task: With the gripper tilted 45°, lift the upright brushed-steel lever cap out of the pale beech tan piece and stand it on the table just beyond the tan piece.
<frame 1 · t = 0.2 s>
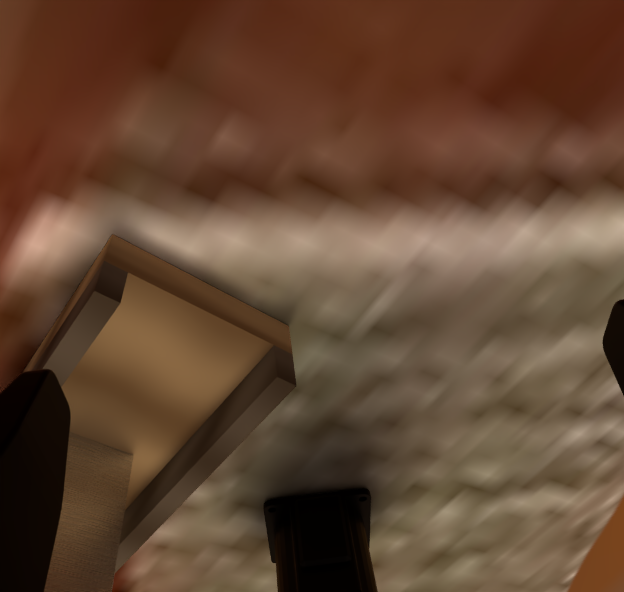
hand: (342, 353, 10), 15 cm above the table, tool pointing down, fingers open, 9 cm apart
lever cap: (77, 471, 30), point 2 cm above the table, touching tan piece
tan piece: (85, 440, 31), on the table
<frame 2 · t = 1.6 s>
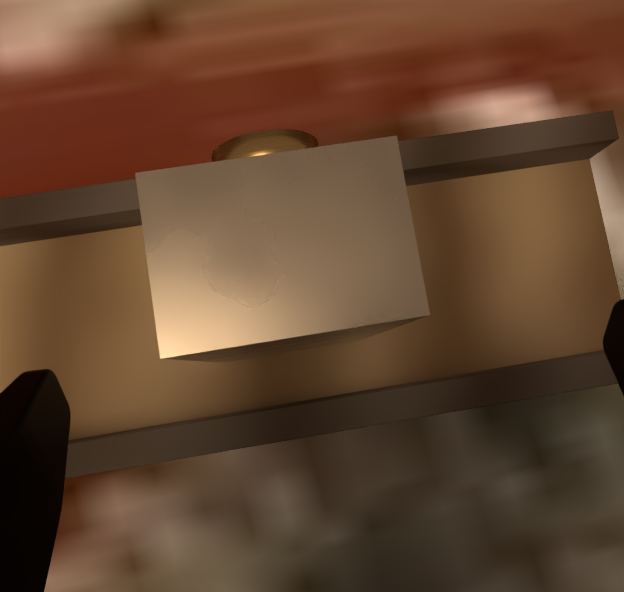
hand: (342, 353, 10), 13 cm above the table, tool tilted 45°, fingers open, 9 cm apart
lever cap: (284, 301, 21), point 2 cm above the table, touching tan piece
tan piece: (284, 307, 23), on the table
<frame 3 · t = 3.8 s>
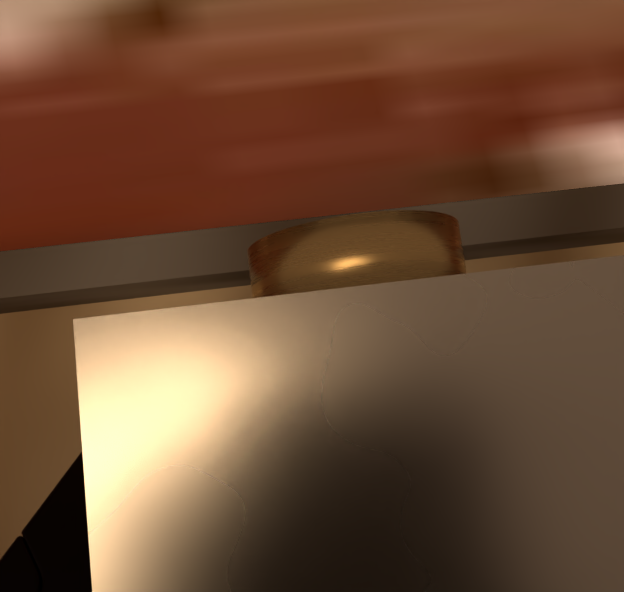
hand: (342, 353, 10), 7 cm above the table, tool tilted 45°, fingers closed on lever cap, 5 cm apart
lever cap: (329, 419, 14), point 2 cm above the table, touching gripper, tan piece
tan piece: (324, 414, 16), on the table
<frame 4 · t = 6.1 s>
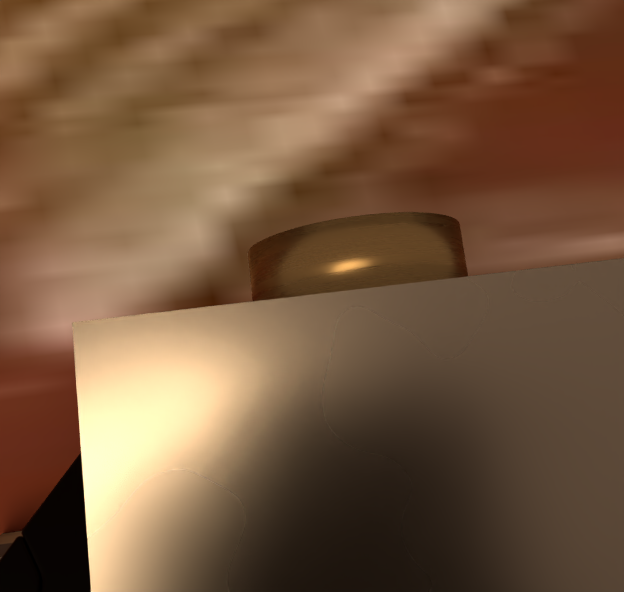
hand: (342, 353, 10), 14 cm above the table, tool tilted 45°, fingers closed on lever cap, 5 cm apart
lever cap: (330, 420, 14), point 9 cm above the table, touching gripper
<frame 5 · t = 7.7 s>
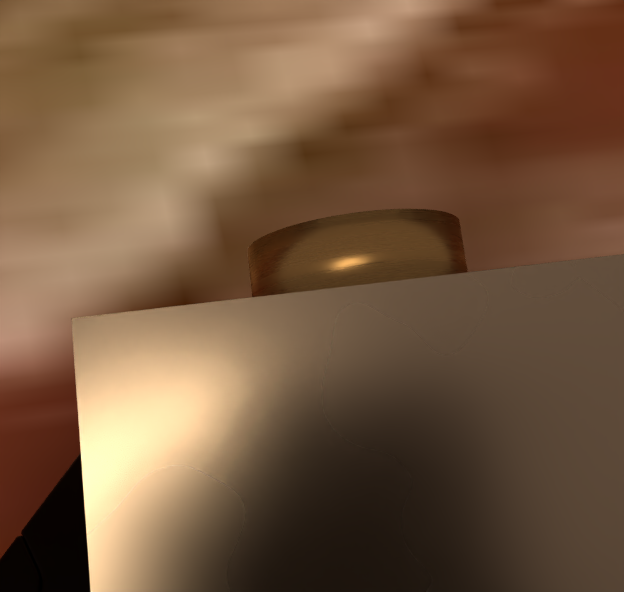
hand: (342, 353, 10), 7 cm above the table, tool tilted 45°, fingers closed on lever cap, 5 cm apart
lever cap: (330, 419, 14), point 2 cm above the table, touching gripper
when the fingers open (6 cm above the table, at t = 8.7 s): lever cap drops 1 cm, on the table.
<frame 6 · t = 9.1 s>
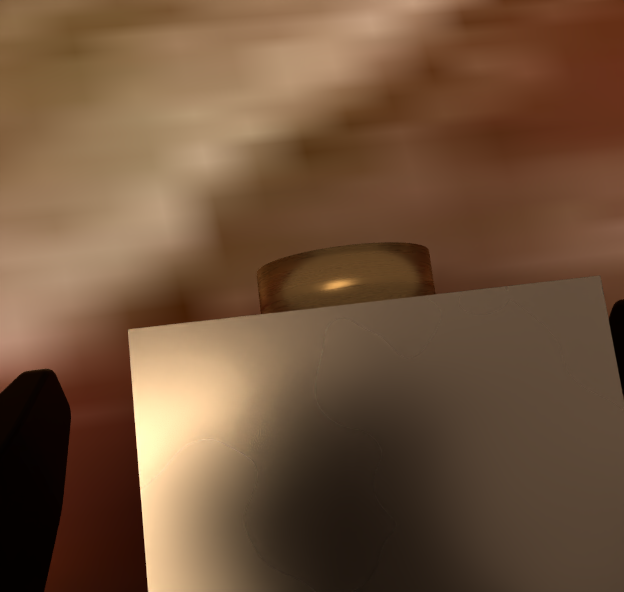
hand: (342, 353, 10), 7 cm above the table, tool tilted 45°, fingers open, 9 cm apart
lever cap: (326, 415, 16), on the table
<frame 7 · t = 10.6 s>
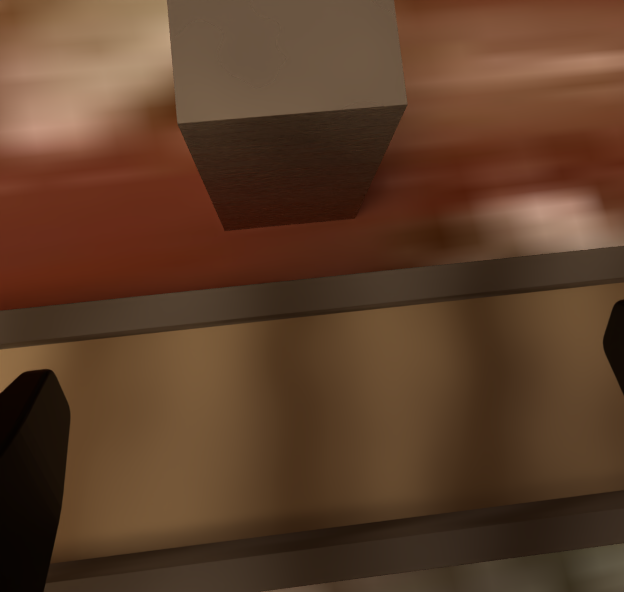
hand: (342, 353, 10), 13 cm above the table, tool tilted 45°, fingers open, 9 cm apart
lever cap: (285, 180, 23), on the table
tan piece: (310, 415, 22), on the table
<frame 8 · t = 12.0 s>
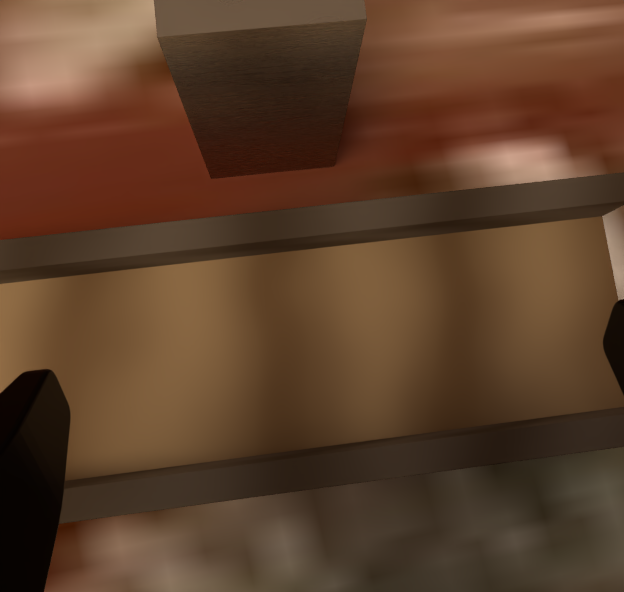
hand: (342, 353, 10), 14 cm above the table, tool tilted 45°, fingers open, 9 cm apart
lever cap: (268, 131, 24), on the table
tan piece: (293, 351, 23), on the table
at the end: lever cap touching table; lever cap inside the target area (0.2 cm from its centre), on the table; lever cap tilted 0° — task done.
